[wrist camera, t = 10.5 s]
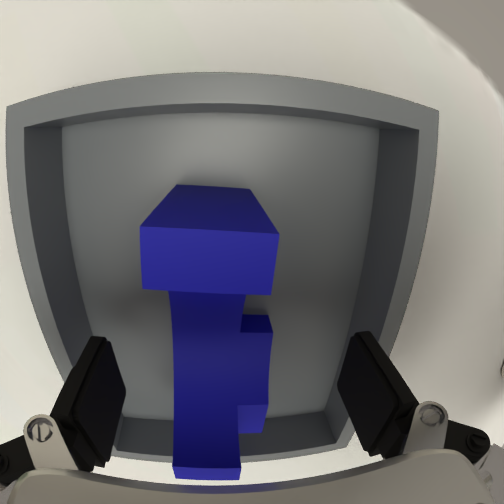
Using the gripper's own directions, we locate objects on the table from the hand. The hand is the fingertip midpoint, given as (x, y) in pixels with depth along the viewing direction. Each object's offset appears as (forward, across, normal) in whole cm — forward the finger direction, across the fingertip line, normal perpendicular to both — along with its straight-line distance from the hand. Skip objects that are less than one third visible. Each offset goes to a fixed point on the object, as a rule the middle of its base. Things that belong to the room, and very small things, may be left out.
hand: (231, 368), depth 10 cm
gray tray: (+5, 0, 0) cm, 5 cm away
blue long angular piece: (+4, 0, 0) cm, 4 cm away
